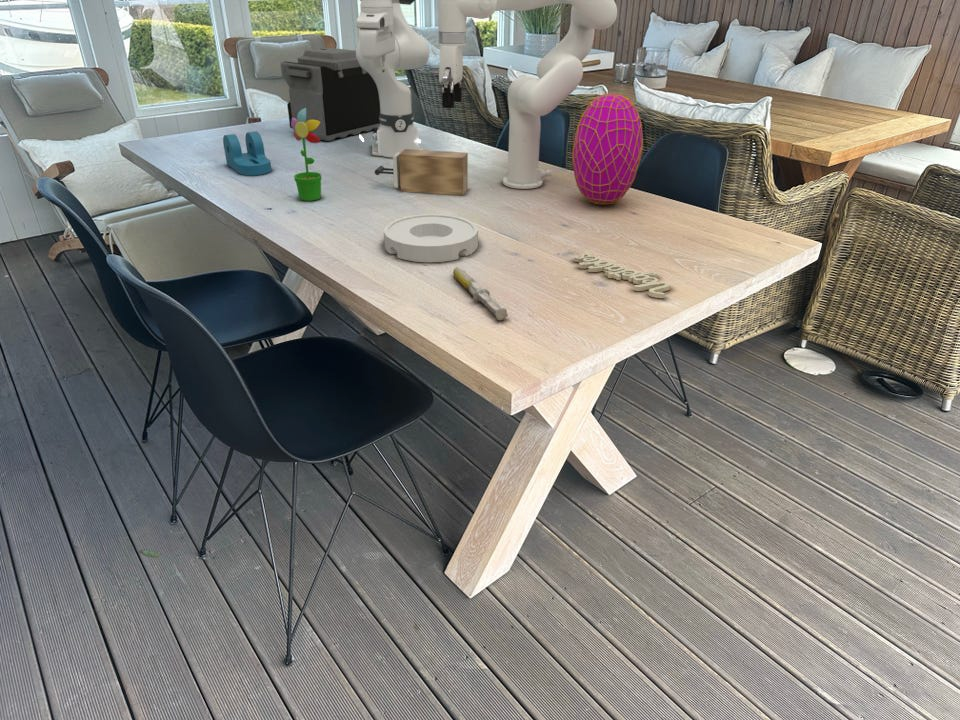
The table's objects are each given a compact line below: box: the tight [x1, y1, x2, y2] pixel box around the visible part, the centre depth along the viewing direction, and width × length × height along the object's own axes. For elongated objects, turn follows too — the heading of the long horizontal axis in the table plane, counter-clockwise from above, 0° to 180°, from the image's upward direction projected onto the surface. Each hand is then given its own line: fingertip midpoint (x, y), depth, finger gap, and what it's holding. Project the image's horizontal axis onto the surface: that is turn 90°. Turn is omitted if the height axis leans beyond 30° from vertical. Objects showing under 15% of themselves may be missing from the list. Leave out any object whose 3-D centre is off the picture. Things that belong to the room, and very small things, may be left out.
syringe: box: [452, 266, 509, 321], centre depth 145 cm, size 25×4×3 cm, turn 21°
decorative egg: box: [571, 92, 644, 205], centre depth 194 cm, size 19×19×30 cm
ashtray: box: [383, 213, 479, 263], centre depth 170 cm, size 23×23×4 cm
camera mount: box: [222, 131, 272, 176], centre depth 226 cm, size 18×10×10 cm, turn 35°
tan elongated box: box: [399, 149, 469, 196], centre depth 208 cm, size 20×6×11 cm, turn 79°
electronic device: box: [279, 47, 380, 142], centre depth 271 cm, size 37×22×30 cm, turn 144°
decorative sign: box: [574, 252, 671, 299], centre depth 155 cm, size 26×1×10 cm
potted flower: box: [291, 108, 323, 202], centre depth 196 cm, size 9×8×25 cm
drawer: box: [374, 152, 401, 188], centre depth 209 cm, size 25×5×9 cm, turn 79°
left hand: (380, 72), depth 196 cm, fingers closed
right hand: (452, 104), depth 196 cm, fingers open, 9 cm apart
